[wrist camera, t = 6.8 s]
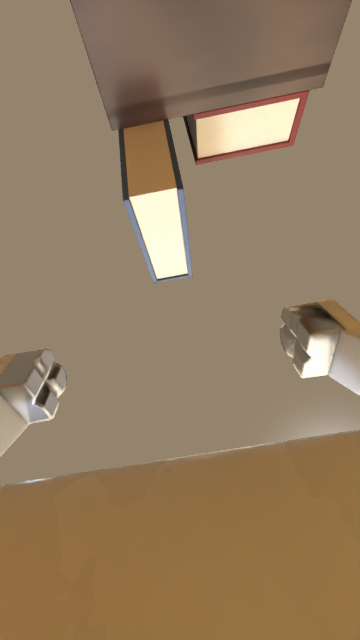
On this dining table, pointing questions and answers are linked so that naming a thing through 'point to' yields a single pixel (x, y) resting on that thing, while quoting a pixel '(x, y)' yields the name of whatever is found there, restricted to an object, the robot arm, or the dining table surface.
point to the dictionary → (245, 127)
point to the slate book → (155, 199)
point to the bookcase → (204, 52)
